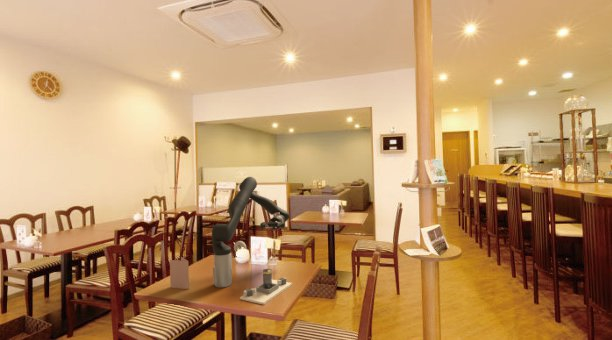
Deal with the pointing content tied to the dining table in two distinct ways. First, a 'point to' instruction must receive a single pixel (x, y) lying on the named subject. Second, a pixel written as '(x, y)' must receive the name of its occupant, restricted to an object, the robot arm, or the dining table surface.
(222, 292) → the dining table surface
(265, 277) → the cylinder
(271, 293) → the stand
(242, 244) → the donut
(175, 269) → the greeting card
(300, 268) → the dining table surface
